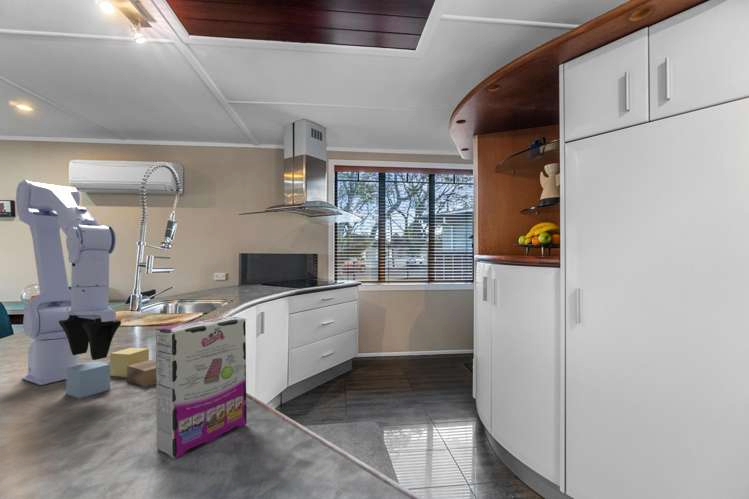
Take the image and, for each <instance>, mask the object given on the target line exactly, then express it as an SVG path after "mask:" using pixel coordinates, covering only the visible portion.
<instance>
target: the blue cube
mask: <svg viewBox="0 0 749 499" xmlns="http://www.w3.org/2000/svg"><path fill="white" fill-rule="evenodd" d="M65 380H66V382H65V383H66V384H65V387H66V390H65V394H66V395H68V396H71V397H74V398H77V399H82V398H86V397H89V396H93V395H95V394H99V393H103V392H106V391H109V390H111V376H110V363H106V362H102V361H98V360H96V361H95V360H94V361H91V362H87V363H83V364H78V365H77V366H73V367H68V368H67V378H66V379H65Z"/></svg>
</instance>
